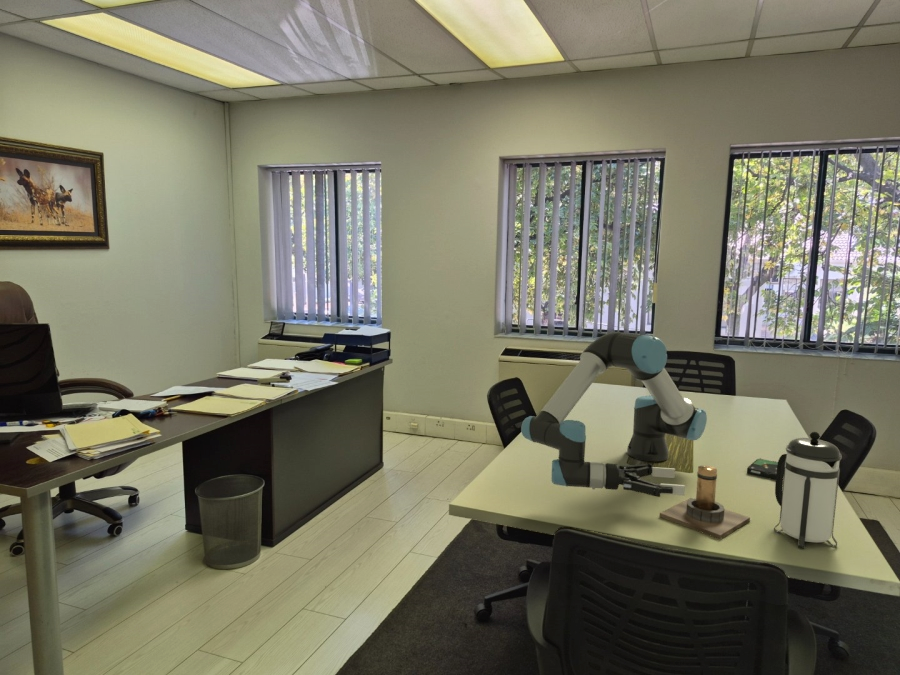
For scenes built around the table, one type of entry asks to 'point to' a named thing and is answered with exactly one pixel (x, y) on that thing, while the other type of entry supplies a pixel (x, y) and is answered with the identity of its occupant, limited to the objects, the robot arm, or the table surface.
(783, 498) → the coffee press
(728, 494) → the table surface
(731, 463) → the table surface
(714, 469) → the copper tube
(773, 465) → the disk drive
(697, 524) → the collar plate
